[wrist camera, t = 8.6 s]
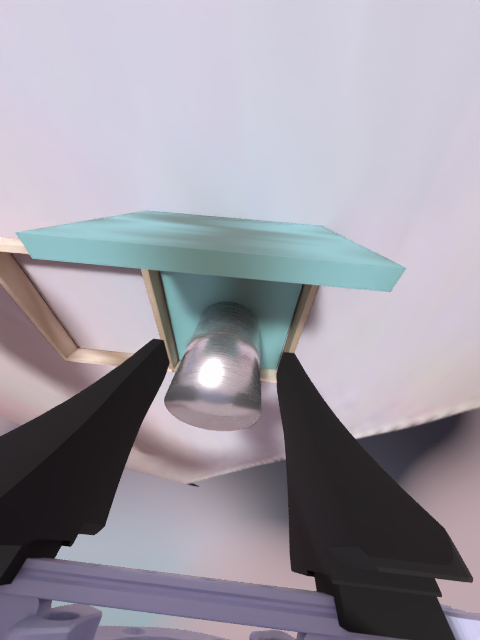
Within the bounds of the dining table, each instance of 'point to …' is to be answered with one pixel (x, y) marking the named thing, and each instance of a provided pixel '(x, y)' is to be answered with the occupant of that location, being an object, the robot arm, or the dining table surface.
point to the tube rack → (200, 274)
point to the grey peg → (219, 371)
